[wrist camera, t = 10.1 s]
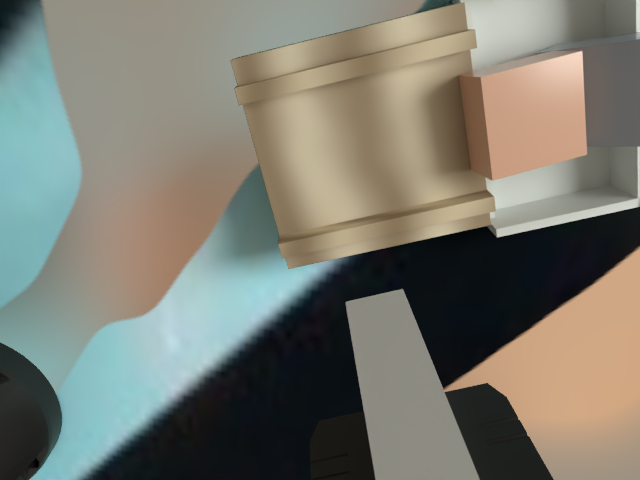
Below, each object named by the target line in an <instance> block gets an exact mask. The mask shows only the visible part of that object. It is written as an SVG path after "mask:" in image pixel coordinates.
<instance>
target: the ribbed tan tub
mask: <svg viewBox="0 0 640 480" xmlns="http://www.w3.org/2000/svg"><path fill="white" fill-rule="evenodd" d="M475 48H477V41H476V32H475V29H468V27H467V19H466V10H465V2H463V3H457V4H452V5H447V6H443V7H439V8H435V9H431V10H427V11H423V12H419V13H415V14H411V15H407V16H403V17H399V18H395V19H391V20H387V21H383V22H379V23H375V24H371V25H367V26H363V27H359V28H355V29H351V30H347V31H343V32H339V33H335V34H331V35H326V36H322V37H319V38H314V39H311V40H306V41H302V42H298V43H294V44H290V45H287V46H282V47H278V48H274V49H270V50H266V51H262V52H258V53H254V54H250V55H246V56H242V57H238V58H235V59H232V60H231V64H232V68H233V71H234V75H235V78H236V82H237V86H236V87H235V88H234V89H235V93H236V96H237V100H238V104H239V105H243V107H244V110H245V114H246V118H247V122H248V125H249V129H250V132H251V136H252V139H253V143H254V147H255V150H256V154H257V157H258V161H259V165H260V168H261V172H262V175H263V179H264V183H265V186H266V190H267V193H268V197H269V200H270V204H271V208H272V211H273V215H274V218H275V222H276V226H277V229H278V233H279V242H278V246H279V249H280V253H281V256H282V258H286V261H287V265H288V269H291V268H296V267H300V266H305V265H309V264H314V263H318V262H323V261H328V260H332V259H337V258H341V257H346V256H351V255H355V254H360V253H364V252H369V251H373V250H378V249H383V248H387V247H392V246H396V245H401V244H406V243H410V242H415V241H419V240H424V239H428V238H433V237H438V236H442V235H447V234H451V233H456V232H461V231H465V230H470V229H474V228H479V227H484V226H488V225H491V220H490V212H495V211H496V207H495V198H494V196H493V195H492V194H491V193H490V192H489V191H488V190H487V186H486V178H485V177H484V176H482V175H480V174H478V173H476V172H474V171H472V170H471V165H470V158H469V150H468V142H467V134H466V127H465V119H464V111H463V104H462V96H461V88H460V80H459V75H461V74H465V73H469V72H473V69H472V61H471V52H470V49H475Z"/></svg>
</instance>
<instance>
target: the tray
mask: <svg viewBox="0 0 640 480" xmlns="http://www.w3.org/2000/svg"><path fill="white" fill-rule="evenodd" d="M463 2H465V10H466V19H467V27H468V29H475V32H476V41H477V48H475V49H470V52H471V61H472V69H473V71H476V70H480V69H484V68H488V67H492V66H496V65H499V64H503V63H507V62H511V61H515V60H519V59H523V58H526V57H530V56H534V55H536V53H537V52H540V51H542V50H544V49H547V48H549V47H552V46H554V45H556V44H560V43H567V42H574V41H581V40H588V39H595V38H602V37H608V36H615V35H622V34H629V33H636V32H640V0H452V4H457V3H463ZM485 178H486V177H485ZM486 186H487V190H488V191H489V192H490V193H491V194H492V195H493V196H494V198H495V207H496V211H495V212H490V220H491V225H488V226H487V227H488V228H489V229H490V230H491V231H492V232H493V233H494V235H495V236H496V237H501V236H506V235H511V234H515V233H520V232H524V231H529V230H534V229H538V228H543V227H548V226H552V225H557V224H561V223H566V222H571V221H575V220H580V219H585V218H589V217H594V216H598V215H603V214H608V213H612V212H617V211H621V210H626V209H631V208H635V207H640V147H590V146H587V155H584V156H581V157H577V158H573V159H570V160H566V161H563V162H559V163H555V164H552V165H548V166H544V167H541V168H537V169H534V170H530V171H526V172H523V173H519V174H515V175H512V176H508V177H505V178H501V179H497V180H494V181H492V180H490V179H488V178H486Z"/></svg>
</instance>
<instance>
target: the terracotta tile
mask: <svg viewBox="0 0 640 480" xmlns="http://www.w3.org/2000/svg"><path fill="white" fill-rule="evenodd" d="M459 80H460V88H461V96H462V104H463V111H464V119H465V127H466V134H467V142H468V150H469V158H470V165H471V170H472V171H474V172H476V173H478V174H480V175H482V176H484V177H486V178H488V179H490V180H492V181H494V180H497V179H501V178H505V177H508V176H512V175H515V174H519V173H523V172H526V171H530V170H534V169H537V168H541V167H544V166H548V165H552V164H555V163H559V162H563V161H566V160H570V159H573V158H577V157H581V156H584V155H587V142H586V120H585V98H584V77H583V55H582V51H549V52H546V53H542V54H538V55H534V56H530V57H526V58H523V59H519V60H515V61H511V62H507V63H503V64H499V65H496V66H492V67H488V68H484V69H480V70H476V71H473V72H469V73H465V74H461V75H459Z"/></svg>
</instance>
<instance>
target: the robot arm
mask: <svg viewBox="0 0 640 480" xmlns="http://www.w3.org/2000/svg"><path fill="white" fill-rule="evenodd" d="M346 308H347V314H348V320H349V326H350V332H351V338H352V343H353V349H354V355H355V361H356V367H357V373H358V379H359V385H360V391H361V396H362V402H363V408H364V411H363V412H358V413H353V414H349V415H344V416H339V417H335V418H330V419H325V420H321V421H319V423H318V425H317V427H316V429H315V431H314V433H313V435H312V438H311V440H310V461H311V480H553V478H552V476H551V474H550V473H549V471H548V469H547V467H546V466H545V464H544V462H543V460H542V459H541V457H540V455H539V453H538V452H537V450H536V448H535V446H534V445H533V443H532V441H531V439H530V437H528V436H527V432H526V430H525V429H524V427H523V425H522V423H521V422H520V420H518V417H517V415H516V413H515V411H514V409H513V408H512V406H511V404H510V402H509V401H508V399H507V397H505V396H504V395H503V394H501V393H500V392H499V391H497V390H496V389H495V388H493V387H492V386H490V385H489V384H488V383H486V384H481V385H477V386H472V387H467V388H463V389H458V390H453V391H449V392H444V390H443V387H442V385H441V382H440V380H439V377H438V375H437V373H436V370H435V368H434V365H433V363H432V360H431V358H430V355H429V353H428V350H427V348H426V345H425V343H424V340H423V338H422V335H421V333H420V330H419V328H418V326H417V323H416V321H415V318H414V316H413V313H412V311H411V308H410V306H409V303H408V301H407V298H406V296H405V293H404V291H403V289H401V290H396V291H392V292H387V293H383V294H379V295H374V296H370V297H365V298H361V299H356V300H352V301H348V302H346ZM61 425H62V415H61V408H60V404H59V401H58V398H57V396H56V393H55V391H54V389H53V388H52V386H51V384H50V383H49V381H48V380H47V379H46V377H45V376H44V375H43V374H42V372H41V371H40V370H39V369H38V368H37V367H36V366H35V365H34V364H32V363H31V362H30V361H29V360H28V359H27V358H25V357H24V356H23V355H21V354H20V353H18V352H17V351H15V350H13V349H12V348H10V347H8V346H6V345H4V344H2V343H0V480H29V479H30V478H32V477H33V476H34V475H35V474H36V473H37V471H38V470H39V469H40V468H41V467H42V465H43V464H44V463H45V461H46V459H47V458H48V456H49V455H50V453H51V451H52V450H53V448H54V446H55V445H56V443H57V441H58V438H59V435H60V432H61Z"/></svg>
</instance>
